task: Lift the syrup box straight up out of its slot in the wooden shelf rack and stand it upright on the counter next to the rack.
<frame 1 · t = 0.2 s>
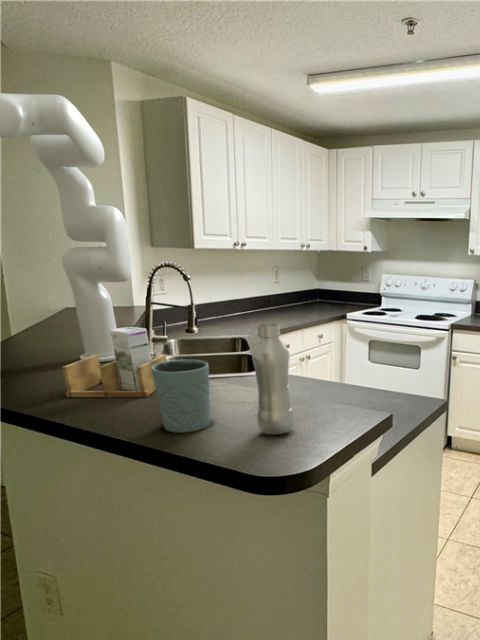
wooden shelf rack: (121, 389, 131), on the table
syrup box: (139, 389, 131), resting in wooden shelf rack
blue embossed cup: (188, 426, 106), on the table
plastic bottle: (276, 433, 102), on the table
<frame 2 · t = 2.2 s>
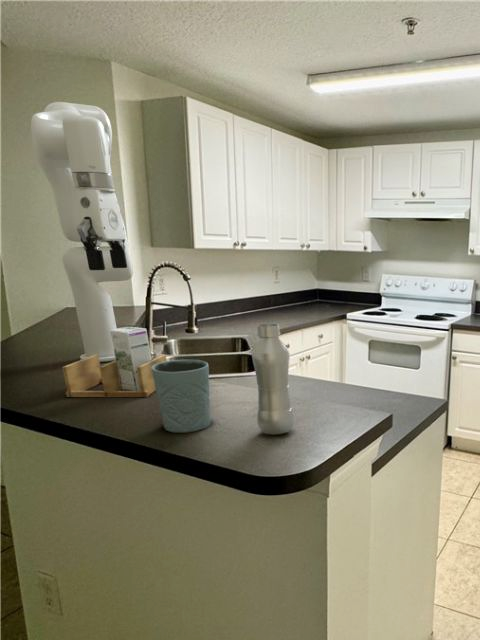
hand: (109, 268, 121), 28 cm above the table, tool pointing down, fingers open, 9 cm apart
nothing on the table moved.
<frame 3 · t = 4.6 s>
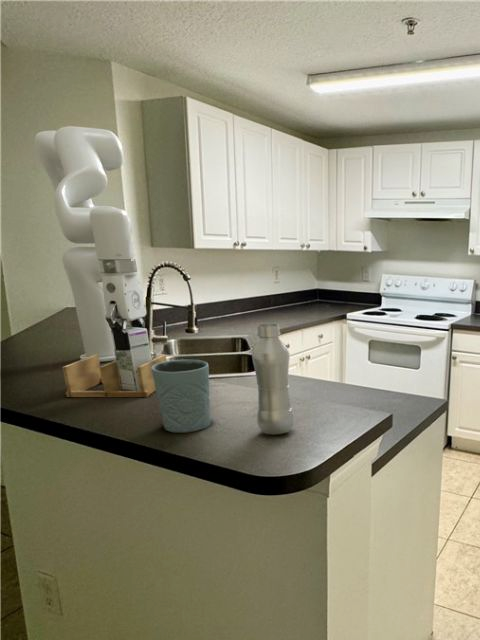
hand: (131, 346, 128), 10 cm above the table, tool pointing down, fingers closed on syrup box, 7 cm apart
syrup box: (139, 389, 131), resting in wooden shelf rack, touching gripper
everything else where it was.
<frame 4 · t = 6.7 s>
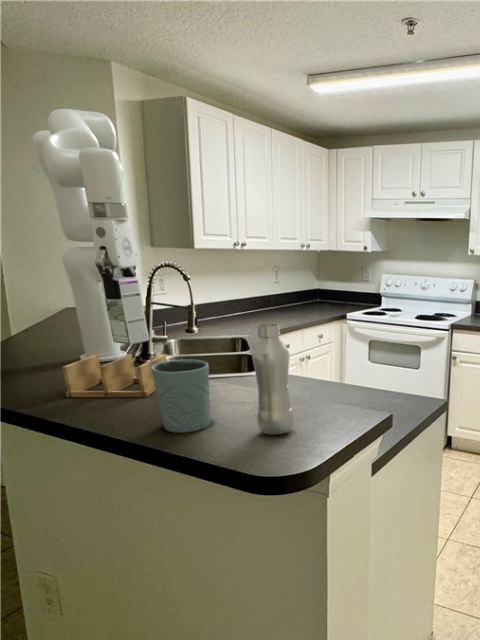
hand: (122, 296, 124), 22 cm above the table, tool pointing down, fingers closed on syrup box, 7 cm apart
syrup box: (131, 342, 128), point 11 cm above the table, touching gripper
everything else where it was.
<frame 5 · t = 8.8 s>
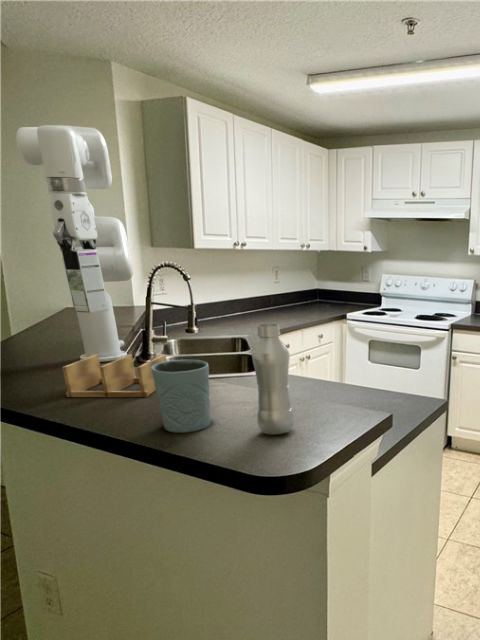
hand: (82, 267, 131), 27 cm above the table, tool pointing down, fingers closed on syrup box, 7 cm apart
syrup box: (92, 312, 135), point 17 cm above the table, touching gripper
everything else where it was.
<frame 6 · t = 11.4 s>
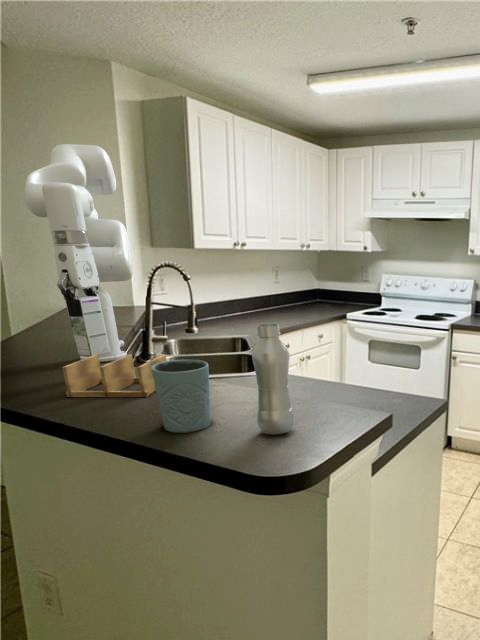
hand: (85, 313, 137), 16 cm above the table, tool pointing down, fingers closed on syrup box, 7 cm apart
syrup box: (94, 355, 140), point 6 cm above the table, touching gripper
everything else where it was.
when the fingers open (10 cm above the table, at t = 13.4 s): syrup box stays where it is, on the table.
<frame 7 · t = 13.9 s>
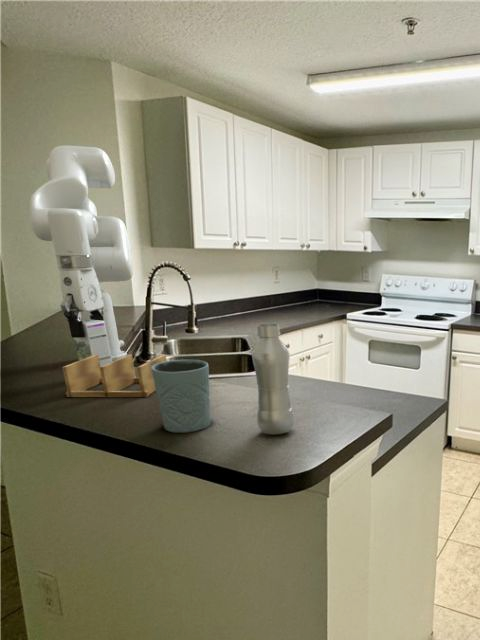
hand: (89, 334, 139), 11 cm above the table, tool pointing down, fingers open, 9 cm apart
syrup box: (99, 377, 142), on the table
everything else where it was.
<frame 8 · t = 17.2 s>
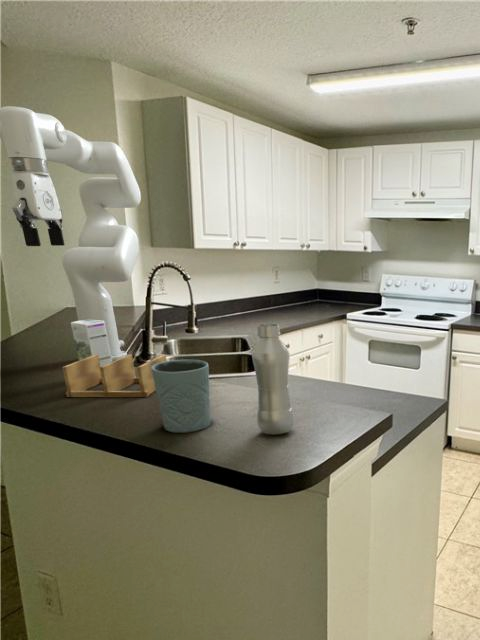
hand: (46, 245, 134), 32 cm above the table, tool pointing down, fingers open, 9 cm apart
nothing on the table moved.
at the end: syrup box inside the target area (0.3 cm from its centre), on the table; syrup box tilted 0° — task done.
